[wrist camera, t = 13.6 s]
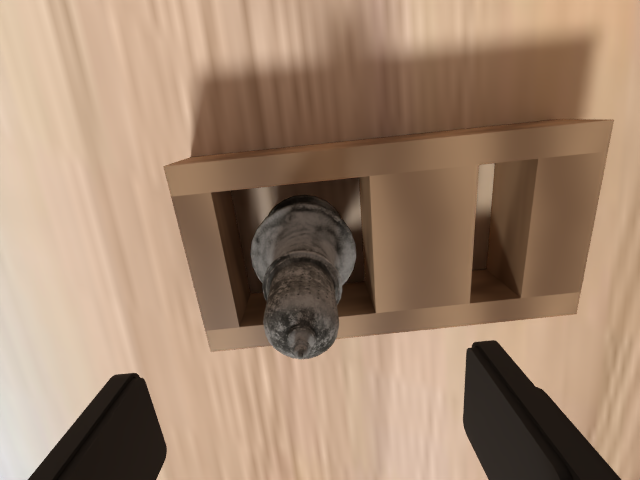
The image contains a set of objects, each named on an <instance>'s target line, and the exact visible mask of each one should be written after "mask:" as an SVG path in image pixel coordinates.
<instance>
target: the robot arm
mask: <svg viewBox="0 0 640 480" xmlns="http://www.w3.org/2000/svg"><path fill="white" fill-rule="evenodd" d="M463 424H464V429H465V432H466V434H467V437H468V439H469V441H470V443H471V445H472V447H473V449H474V451H475V453H476V455H477V457H478V459H479V461H480V463H481V465H482V467H483V469H484V471H485V473H486V475H487V477H488V479H489V480H621V479H620V478H619V476H618V475H617V474H616V473H615V472H614V471H613V470H612V468H611V467H610V466H609V465H608V464H607V463H606V461H605V460H604V459H603V458H602V457H601V456H600V455H599V453H598V452H597V451H596V450H595V449H594V448H593V447H592V445H591V444H590V443H589V442H588V441H587V440H586V438H585V437H584V436H583V435H582V434H581V433H580V432H579V430H578V429H577V428H576V427H575V426H574V425H573V423H572V422H571V421H570V420H569V419H568V418H567V417H566V415H565V414H564V413H563V412H562V411H561V410H560V409H559V407H558V406H557V405H556V404H555V403H554V402H553V400H552V399H551V398H550V397H549V396H548V395H547V394H546V393H545V392H544V391H543V390H542V389H540V388H538V387H535V386H534V384H533V383H532V382H531V381H530V380H529V379H528V377H527V376H526V375H525V374H524V373H523V371H522V370H521V369H520V368H519V367H518V366H517V364H516V363H515V362H514V361H513V360H512V358H511V357H510V356H509V355H508V354H507V353H506V351H505V350H504V349H503V348H502V347H501V346H500V344H499V343H498V342H497V341H494V340H493V341H482V342H474V343H473V345H472V348H468V349H467V353H466V373H465V393H464V413H463ZM166 452H167V447H166V443H165V440H164V437H163V434H162V431H161V428H160V425H159V422H158V419H157V416H156V413H155V410H154V407H153V404H152V400H151V397H150V394H149V391H148V388H147V385H146V382H145V380H144V379H143V378H140V377H139V375H138V374H137V373H129V374H118V375H114V376H113V377H111V378H110V380H109V381H108V382H107V383H106V384H105V386H104V387H103V388H102V389H101V391H100V392H99V393H98V394H97V395H96V397H95V398H94V399H93V400H92V402H91V403H90V404H89V405H88V407H87V408H86V409H85V410H84V411H83V413H82V414H81V415H80V416H79V418H78V419H77V420H76V421H75V422H74V424H73V425H72V426H71V427H70V429H69V430H68V431H67V432H66V434H65V435H64V436H63V437H62V438H61V440H60V441H59V442H58V443H57V445H56V446H55V447H54V448H53V449H52V451H51V452H50V453H49V454H48V456H47V457H46V458H45V459H44V461H43V462H42V463H41V464H40V465H39V467H38V468H37V469H36V470H35V472H34V473H33V474H32V475H31V476H30V478H29V479H28V480H156V479H157V477H158V474H159V472H160V470H161V468H162V466H163V463H164V461H165V458H166Z"/></svg>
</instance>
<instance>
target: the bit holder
mask: <svg viewBox="0 0 640 480" xmlns="http://www.w3.org/2000/svg"><path fill="white" fill-rule="evenodd" d="M613 122H614V120H567V119H556V120H546V121H537V122H527V123H517V124H508V125H498V126H488V127H479V128H469V129H459V130H450V131H440V132H430V133H421V134H411V135H401V136H392V137H382V138H373V139H363V140H353V141H344V142H334V143H324V144H315V145H305V146H295V147H286V148H276V149H266V150H257V151H247V152H237V153H228V154H218V155H208V156H199V157H190V158H187V159H184V160H181V161H178V162H175V163H172V164H169V165H166V166H163V167H164V171H165V174H166V178H167V182H168V186H169V190H170V194H171V198H172V202H173V206H174V210H175V214H176V218H177V222H178V226H179V229H180V233H181V237H182V241H183V245H184V249H185V253H186V257H187V261H188V265H189V269H190V273H191V277H192V280H193V284H194V288H195V292H196V296H197V300H198V304H199V308H200V312H201V316H202V320H203V324H204V328H205V331H206V335H207V339H208V343H209V347H210V351H211V352H215V351H225V350H235V349H244V348H254V347H264V346H272V345H271V344H270V343H269V341H268V339H267V337H266V335H265V330H264V324H263V320H264V313H265V308H266V304H267V302H266V300H265V297H264V294H263V292H261V293H252V294H250V289H249V284H248V278H247V273H246V268H245V263H244V257H243V252H242V247H241V242H240V236H239V231H238V226H237V221H236V216H235V210H234V205H233V200H232V195H231V190H240V189H250V188H259V187H269V186H279V185H288V184H298V183H308V182H317V181H327V180H337V179H346V178H356V177H359V187H360V205H361V223H362V240H363V258H364V275H365V282H358V283H348V284H343V286H342V294H341V299H340V301H339V303H338V305H337V310H338V316H339V328H338V333H337V337H336V339H341V338H350V337H360V336H370V335H379V334H389V333H399V332H408V331H418V330H428V329H437V328H447V327H457V326H466V325H476V324H486V323H495V322H505V321H515V320H524V319H534V318H544V317H553V316H563V315H573V314H576V313H577V308H578V303H579V298H580V293H581V288H582V282H583V277H584V272H585V267H586V262H587V257H588V251H589V246H590V241H591V236H592V231H593V226H594V220H595V215H596V210H597V205H598V200H599V195H600V189H601V184H602V179H603V174H604V169H605V163H606V158H607V153H608V148H609V143H610V138H611V132H612V127H613ZM491 163H495V171H494V183H493V196H492V208H491V220H490V232H489V245H488V257H487V269H483V270H474V271H472V261H473V246H474V231H475V215H476V200H477V185H478V169H479V165H481V164H491Z"/></svg>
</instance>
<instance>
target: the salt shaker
mask: <svg viewBox="0 0 640 480" xmlns="http://www.w3.org/2000/svg"><path fill="white" fill-rule="evenodd" d="M251 260H252V266H253V268H254V270H255V273H256V275H257V277H258V279H259V280H260V281H261V282H262V283H263V286H262V288H263V294H264V297H265V300H266V302H267V304H266V308H265V313H264V320H263V324H264V330H265V335H266V337H267V339H268V341H269V343H270V344H271V345H272V346H273V347H274V348H275V349H276V350H277V351H279V352H280V353H282V354H284V355H286V356H288V357H291V358H296V359H309V358H313V357H316V356H318V355H320V354H322V353H323V352H325V351H327V350H328V349H329V348H330V347H331V346H332V345H333V343H334V341H335V339H336V337H337V333H338V328H339V316H338V310H337V305H338V303H339V301H340V299H341V294H342V286H343V284H344V283H345V282H346V281H347V280H348V278H349V276H350V275H351V273H352V271H353V269H354V265H355V260H356V244H355V241H354V238H353V236H352V233H351V231H350V229H349V228H348V226H347V225H346V224H345V222H344V221H343V220H342V219H341V217H340V215H339V214H338V212H337V211H336V209H335V208H334V207H333V206H331V205H330V204H329V203H328V202H327V201H325V200H322V199H320V198H318V197H314V196H308V195H301V196H293V197H291V198H288V199H285V200H284V201H282V202H281V203H279V204H278V205H277V206H275V208H274V209H273V210H272V211H271V213H270V214H269V216H268V217H266V218H265V220H264V221H263V222H262V223H261V225H260V226H259V227H258V228H257V230H256V233H255V235H254V238H253V240H252V245H251Z"/></svg>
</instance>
